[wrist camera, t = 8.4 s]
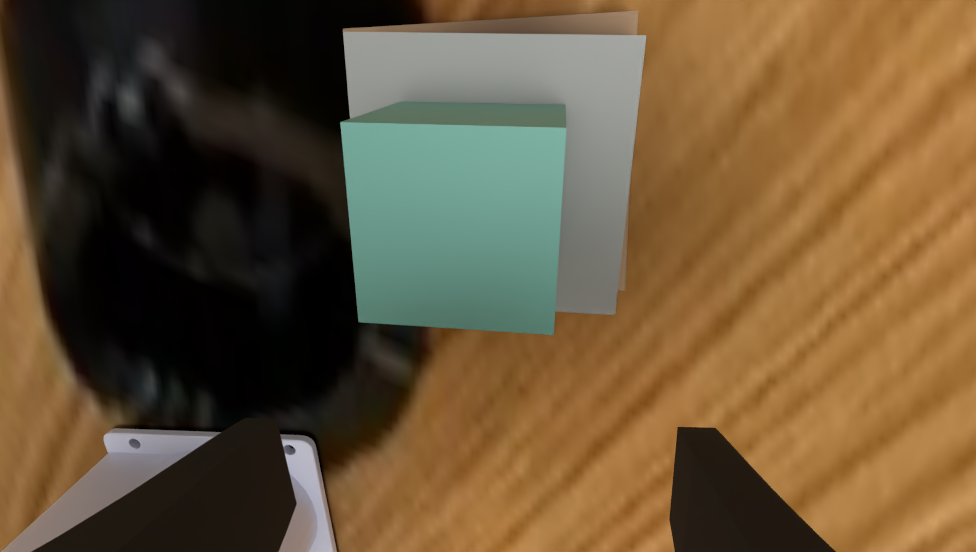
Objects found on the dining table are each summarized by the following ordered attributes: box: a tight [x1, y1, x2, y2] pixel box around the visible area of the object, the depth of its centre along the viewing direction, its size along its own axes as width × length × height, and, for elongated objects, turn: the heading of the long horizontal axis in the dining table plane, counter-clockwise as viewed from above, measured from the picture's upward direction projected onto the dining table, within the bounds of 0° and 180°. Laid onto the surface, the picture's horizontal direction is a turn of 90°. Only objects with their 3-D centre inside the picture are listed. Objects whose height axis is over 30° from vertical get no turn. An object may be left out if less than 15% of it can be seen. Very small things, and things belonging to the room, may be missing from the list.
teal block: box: [340, 102, 566, 335], centre depth 12 cm, size 4×4×4 cm
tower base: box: [343, 11, 638, 291], centre depth 18 cm, size 8×8×2 cm
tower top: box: [343, 32, 646, 315], centre depth 15 cm, size 7×7×2 cm
